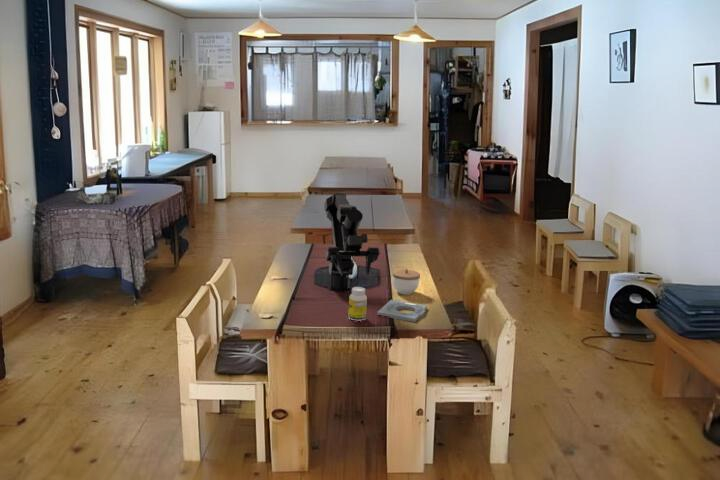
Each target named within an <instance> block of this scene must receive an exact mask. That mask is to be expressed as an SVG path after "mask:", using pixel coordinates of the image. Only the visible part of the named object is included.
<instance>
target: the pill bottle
mask: <svg viewBox="0 0 720 480" xmlns="http://www.w3.org/2000/svg"><path fill="white" fill-rule="evenodd" d="M348 298H349V299H348V314H347V315H348V316H347V317H348V320H350V319H351V320H357V321H360V322H362V321H361V320H364V321H365V320H366V319H367V309H368V305H367V304H368V297H367V295H366V288H365V287H362V286H353V287H352V288H351V293H350V294H349V297H348ZM351 320H350V321H351ZM357 321H356V322H357Z"/></svg>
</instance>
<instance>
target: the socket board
mask: <svg viewBox="0 0 720 480" xmlns="http://www.w3.org/2000/svg"><path fill="white" fill-rule="evenodd" d="M398 310H409V311H412V312H403V311H398ZM426 310H428V305H426V304H420V303H414V302H407V301H401V300H398V299H390V300H389V301H388V302H387V303H386V304H384V306H382V307H381V308H380V309H379V310H378V311H377V313H376V315H377V314H378V315H385V316H389V317H390V318H391V319H396V320H402V321H408V322H414V323H416V321H418V319H419V318H423V316H424V315H425V314H426V313H425V312H426ZM378 315H377V316H378ZM389 317H388V318H389ZM390 318H389V319H390Z"/></svg>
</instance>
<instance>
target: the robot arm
mask: <svg viewBox="0 0 720 480" xmlns="http://www.w3.org/2000/svg"><path fill="white" fill-rule="evenodd" d="M323 207H324V212H325V213H326V217H327V219H328V220H329V221H330V223H331V230H332V240H333V241H332V242H333V246H330V247H328V248H327V249H326V253H325V260H326V261H327V262H329V265H328V273H329V275H330V279H331V280H330V287H329V288H328V290H330V291H338V292H343V293H344V292H346V291H347V290H346V289H348V288H349V289H350V288H351V287H350V285H351V277H350V276H352V275H353V273H354V267H355V262H354V260H353V259H352V257H365V270H366V271H365V272H366V276H369V275H370V270H371V266H372V263H374V262H376V261H377V260H378V258H379V256H380V253H381V252H380V248H378V246H377V247H376V246H368V247H367V249H366V250H362V248H363V247H362V246H363V244H367V243H368V241H369V240H368V234H367V233H362V234H360V235H359V231H358V230H359V228H360V225H361V223H362V220H363V213H362V211H360V210H358V208H357V206H355V205H353V204H350V202H349V200H348V199H347V194H346V193H345V192H333V193H332V194H331V195H330V196H329V197H328V198H326V199H325V201H324V206H323ZM349 289H348V290H349Z"/></svg>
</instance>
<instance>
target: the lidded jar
mask: <svg viewBox="0 0 720 480" xmlns="http://www.w3.org/2000/svg"><path fill="white" fill-rule="evenodd" d="M420 277H421V274H420V272H418V271H415V270H411V269H408V268H404V269H397V270H393V272H392V285H393V288H394V290H395V291H396V293H397V294H400V295H406V296H407V295H412V294H413V293H414V292H415V291H416V290H417V289H418V287H419V284H420V279H421V278H420Z"/></svg>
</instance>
